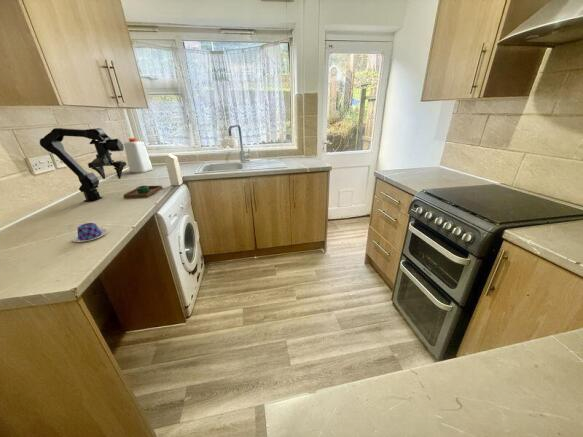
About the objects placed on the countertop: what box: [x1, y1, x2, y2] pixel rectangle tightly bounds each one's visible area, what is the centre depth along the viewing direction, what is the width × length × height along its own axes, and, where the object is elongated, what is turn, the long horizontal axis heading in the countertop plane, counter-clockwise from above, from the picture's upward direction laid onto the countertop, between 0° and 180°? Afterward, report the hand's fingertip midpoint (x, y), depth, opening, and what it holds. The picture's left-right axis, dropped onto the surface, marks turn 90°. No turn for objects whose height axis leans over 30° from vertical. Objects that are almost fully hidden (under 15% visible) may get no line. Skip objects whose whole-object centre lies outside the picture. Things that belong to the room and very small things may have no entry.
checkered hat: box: [71, 222, 108, 243], centre depth 101 cm, size 12×12×5 cm
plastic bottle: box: [123, 137, 154, 174], centre depth 213 cm, size 15×15×28 cm
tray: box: [122, 185, 163, 199], centre depth 157 cm, size 15×19×2 cm
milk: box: [164, 152, 184, 187], centre depth 170 cm, size 6×6×22 cm
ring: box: [136, 185, 150, 194], centre depth 156 cm, size 6×6×4 cm
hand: (112, 178), depth 144 cm, fingers open, 9 cm apart
